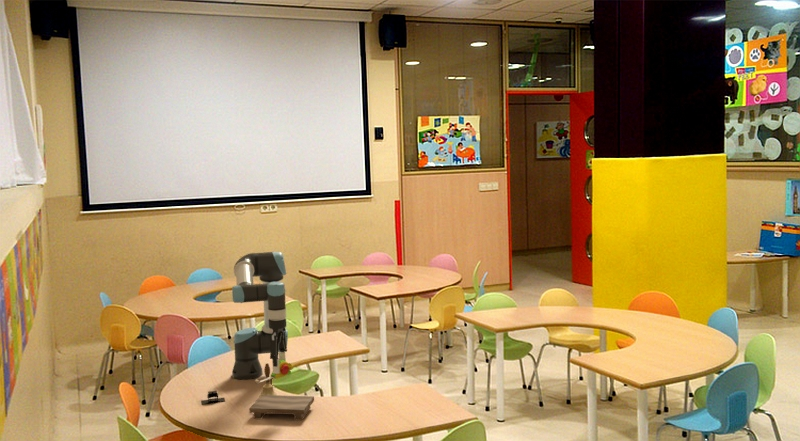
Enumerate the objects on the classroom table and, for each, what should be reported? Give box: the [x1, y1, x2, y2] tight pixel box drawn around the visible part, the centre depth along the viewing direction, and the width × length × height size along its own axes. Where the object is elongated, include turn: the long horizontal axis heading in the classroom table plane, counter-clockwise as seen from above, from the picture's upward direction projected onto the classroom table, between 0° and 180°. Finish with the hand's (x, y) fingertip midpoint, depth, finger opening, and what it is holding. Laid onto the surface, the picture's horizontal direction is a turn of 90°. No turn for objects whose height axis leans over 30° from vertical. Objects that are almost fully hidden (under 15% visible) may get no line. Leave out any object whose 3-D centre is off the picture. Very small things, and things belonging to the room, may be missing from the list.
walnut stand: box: [249, 394, 315, 421], centre depth 310 cm, size 16×24×5 cm, turn 82°
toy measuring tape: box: [254, 360, 294, 384], centre depth 305 cm, size 6×19×7 cm, turn 137°
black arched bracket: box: [200, 390, 226, 406], centre depth 327 cm, size 13×8×5 cm, turn 109°
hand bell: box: [258, 363, 277, 398], centre depth 330 cm, size 8×8×16 cm
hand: (279, 369), depth 308 cm, fingers closed on toy measuring tape, 8 cm apart
